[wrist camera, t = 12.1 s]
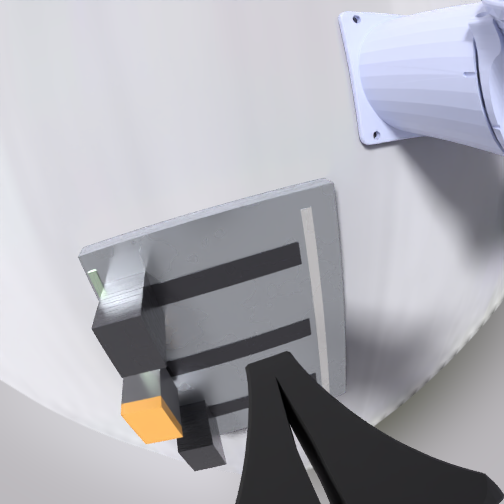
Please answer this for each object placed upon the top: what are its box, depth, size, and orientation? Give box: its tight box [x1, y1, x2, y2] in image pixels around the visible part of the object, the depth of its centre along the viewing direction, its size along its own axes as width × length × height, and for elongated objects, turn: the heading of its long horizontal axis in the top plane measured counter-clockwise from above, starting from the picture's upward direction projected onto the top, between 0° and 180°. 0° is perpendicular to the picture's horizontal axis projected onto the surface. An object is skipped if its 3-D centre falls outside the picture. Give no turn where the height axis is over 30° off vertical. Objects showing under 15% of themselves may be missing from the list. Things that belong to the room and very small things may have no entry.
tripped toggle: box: [121, 368, 183, 444], centre depth 17 cm, size 2×3×4 cm
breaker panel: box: [78, 178, 346, 471], centre depth 19 cm, size 14×18×5 cm
